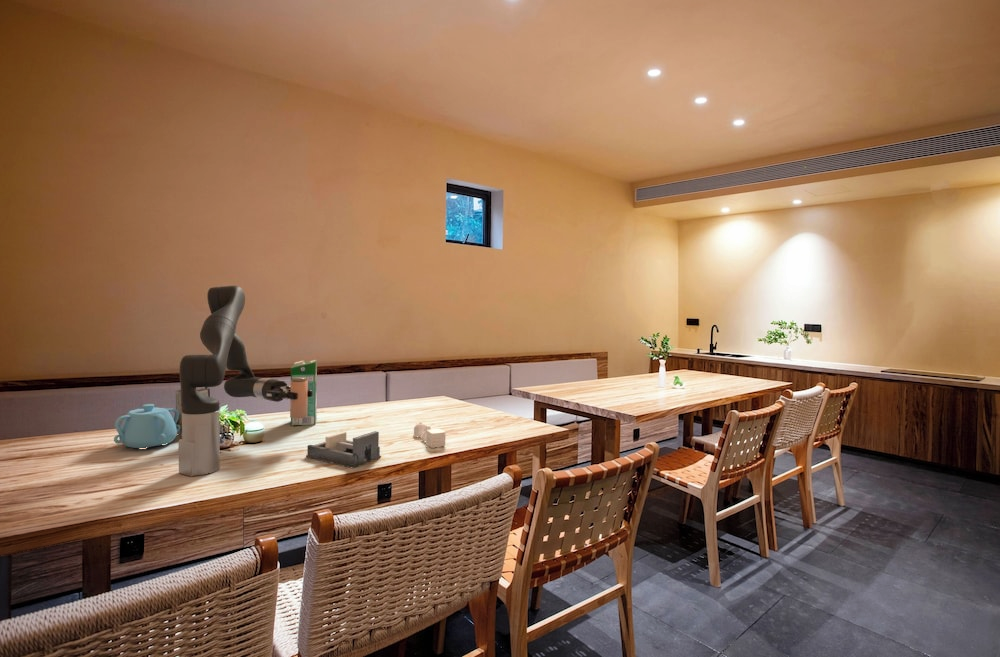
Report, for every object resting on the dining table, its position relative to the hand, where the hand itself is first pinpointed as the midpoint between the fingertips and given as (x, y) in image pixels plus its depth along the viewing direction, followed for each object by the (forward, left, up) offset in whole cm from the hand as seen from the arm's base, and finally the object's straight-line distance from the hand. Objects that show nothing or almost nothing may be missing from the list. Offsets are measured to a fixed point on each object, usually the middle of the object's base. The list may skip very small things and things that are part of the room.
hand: (304, 395), depth 167 cm
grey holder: (-1, -19, -18) cm, 26 cm away
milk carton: (+23, +26, -18) cm, 39 cm away
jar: (0, +3, -7) cm, 8 cm away
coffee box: (-9, +46, -18) cm, 50 cm away
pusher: (-1, -21, -17) cm, 27 cm away
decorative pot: (-25, +44, -18) cm, 54 cm away
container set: (+29, -30, -18) cm, 45 cm away
